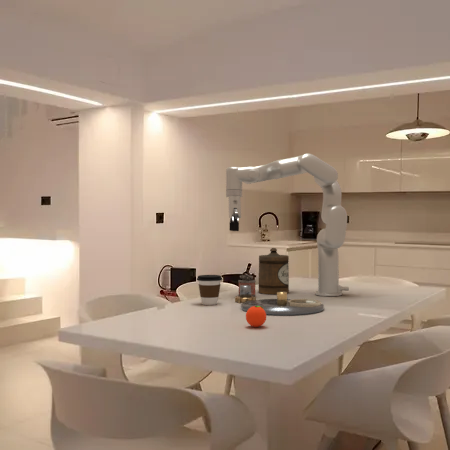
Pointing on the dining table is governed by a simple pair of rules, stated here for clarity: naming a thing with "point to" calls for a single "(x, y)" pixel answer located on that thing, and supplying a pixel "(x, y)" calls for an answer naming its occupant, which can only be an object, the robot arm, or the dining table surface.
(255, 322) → the clementine
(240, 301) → the gear
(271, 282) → the wooden container
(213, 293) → the coffee cup
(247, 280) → the lighter
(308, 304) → the carrier plate
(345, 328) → the dining table surface
